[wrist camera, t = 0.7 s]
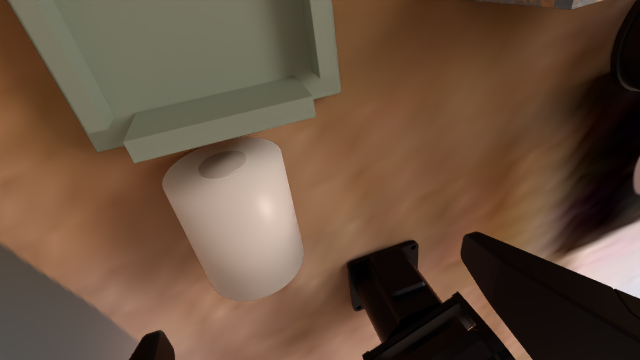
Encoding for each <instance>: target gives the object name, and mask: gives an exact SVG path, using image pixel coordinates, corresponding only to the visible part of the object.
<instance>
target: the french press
mask: <svg viewBox="0 0 640 360" xmlns="http://www.w3.org/2000/svg"><path fill="white" fill-rule="evenodd" d="M611 72H612V76H613V79H614V81H615V83H616V84H617V85H618V86H619V87H621V88H623V89H626V90H629V91H640V0H637V2H636V3H635V5H634V6H633V8H632V9H631V11H630V12H629V14H628V15H627V17H626V19H625V21H624V23H623V25H622V27H621V29H620V31H619V34H618V37H617V39H616V42H615V45H614V49H613V53H612V59H611Z"/></svg>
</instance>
